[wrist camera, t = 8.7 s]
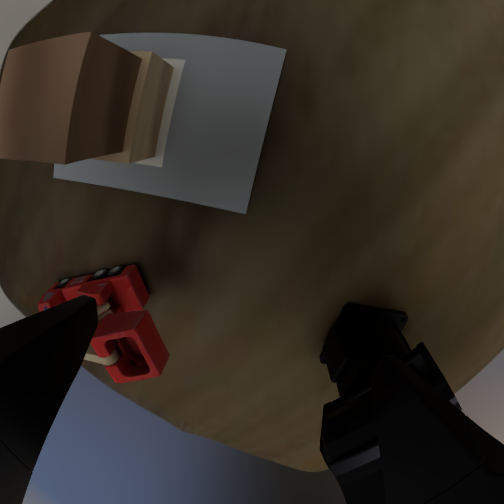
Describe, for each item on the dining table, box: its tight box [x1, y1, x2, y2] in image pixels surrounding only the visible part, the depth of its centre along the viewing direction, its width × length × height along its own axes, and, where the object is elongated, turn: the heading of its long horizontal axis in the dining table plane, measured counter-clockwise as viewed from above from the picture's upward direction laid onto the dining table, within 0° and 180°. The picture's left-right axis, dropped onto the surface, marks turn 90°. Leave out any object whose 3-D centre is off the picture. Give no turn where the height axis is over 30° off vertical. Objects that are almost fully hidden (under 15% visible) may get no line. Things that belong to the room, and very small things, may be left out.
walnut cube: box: [0, 32, 142, 165], centre depth 9 cm, size 5×5×5 cm
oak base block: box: [91, 51, 174, 164], centre depth 13 cm, size 6×6×4 cm
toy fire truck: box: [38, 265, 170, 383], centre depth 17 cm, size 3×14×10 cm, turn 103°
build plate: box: [54, 33, 287, 214], centre depth 16 cm, size 15×11×1 cm
